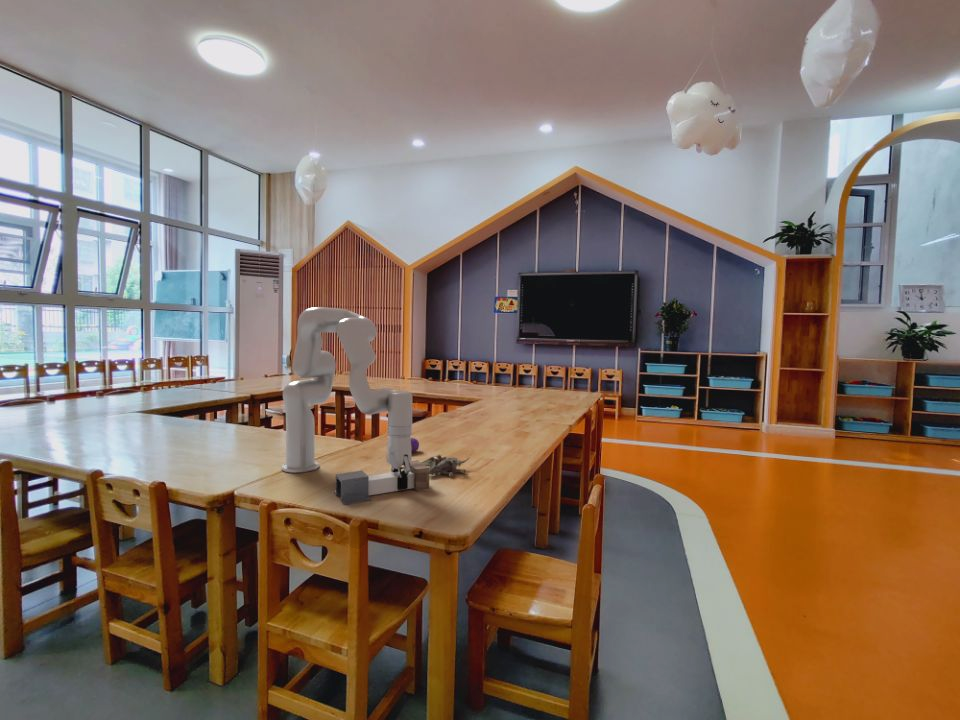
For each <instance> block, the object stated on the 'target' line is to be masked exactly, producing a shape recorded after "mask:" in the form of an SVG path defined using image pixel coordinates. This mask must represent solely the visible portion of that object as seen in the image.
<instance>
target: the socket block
mask: <svg viewBox="0 0 960 720" xmlns="http://www.w3.org/2000/svg"><path fill="white" fill-rule="evenodd" d="M421 462H422V461H420V460H411V466H410V470H412V471H413V472H414V488H413V489H414V490H413V491H415V492H421V491H424V490H425V491H426V490H429V489H430V474H429V468H430V467H428V466H426V465H424V464H423V463H421Z"/></svg>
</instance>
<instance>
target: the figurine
mask: <svg viewBox="0 0 960 720" xmlns="http://www.w3.org/2000/svg"><path fill="white" fill-rule="evenodd" d="M469 459H471V458H470V457H468V458H466V459H465V460H460V459H458V458H457V457H448V458H447V457H446V456H445V455H443V454H437V455H435V456H432V457H430V458H428V459H426V460H424V461H420V462H421V463H423V464H424V465H426V466H428V467H429V475H431V476H434V475H435V476H436V475H437V474H441V475H447V476H449V478H451V477H452V476H453V475H454V474H458V473H462V474H465V473H466V472H467V470H466V469H465V468H461V469H460V468H458V469H457V467H461V465H463V464H464V463H466V462H467V461H468V460H469Z"/></svg>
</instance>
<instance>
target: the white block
mask: <svg viewBox="0 0 960 720" xmlns="http://www.w3.org/2000/svg"><path fill="white" fill-rule="evenodd" d="M402 471H403V470H401V472H402ZM368 476H369V477H368V497H370V496H372V495H373V496H375V495H380V494H386V493H392V492H398V491H400V490H398V489H397V482H398V477H399V473H398V472H385V473H381V474H373V475H368ZM410 489H414V472H413V471H412V470H410V472H409V473H408V488H407V489H403V490H402V491H405V490H410Z"/></svg>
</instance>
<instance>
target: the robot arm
mask: <svg viewBox="0 0 960 720" xmlns="http://www.w3.org/2000/svg"><path fill="white" fill-rule="evenodd" d="M321 333H337V336H338V340H339V342H340V343H341V345H342V348H343V350H344V352H345V355H346V357H347V359H348V361H349V364H350V372H349V375H348V376H349V381H348V384H349V385H348V386H349V392H350V393H351V396H352V399H353V400H354V403H355V405H356V406H357V408H358V410H359V411H360V412H361V413H362V414H364V415H369V416H370V415H375V414H376V415H377V414H381V413H385V412H387V436H388V437H387V446H386V447H387V448H386V462H387V463H388V464H389V465H390V466H391V469H390V471H391V472H390V473H393V472H398V473H399V477H398V482H397V489H398V490H399V491H404V490H403V489H405V490H408V489H407V488H408V473H409V472H410V466H411V461H412V453H411V438H412V437H411V436H413V394H412V393H411V392H410V391H408V390H396V389H394V388H389V387H384V388H377V389H376V388H375V389H371V387H370V384H369V381H368V378H367V370H368V368H369V366H371V365H372V364H373V363H375V361H376V359H377V356H376V353H375V351H374V349H373V346H372V344H371V343H370V342H372V341H374V339H375V338H376V336H377V326H376V325H375V323H374V322H373V321H372V320H371V319H370V318H368V317H366V316H363V315H361V314H359V313H357V312H356V313H355V312H354V311H351V310H349V309H345V308H339V307H338V308H337V307H325V306H324V307H322V306H317V307H310V308H307V309H304V310H303V311H302V312H301V313H300V315H299V317H298V320H297V337H296V342H295V343H296V344H295V348H294V354H293V359H292V366H291V368H292V369H291V370H292V374H293V375H294V376H296V377H297V378H300V379H299V380H295V381H294V380H293V381H290V382H289V383H288V384H286V385H285V386H284V388H283V390H282V399H283V400H282V401H283V404H284V409H285V411H284V412H285V432H286V433H285V439H286V440H285V441H286V443H285V444H286V445H285V447H286V448H285V449H286V452H285V453H286V454H285V455H286V457H285V458H286V459H285V460H286V461H285V463H283V464H282V465H281V470H282V471H283V472H285V473H291V474H292V473H294V474H295V473H296V474H298V473H306V472H312V471H314V470H317V469H318V468H319V467H320V462H318V461H317V460H315V459H316V458H315V456H316V455H315V453H316V452H315V449H316V447H315V438H316V437H315V416H314V414H313V411H312V409H311V406H316V405H320V404H321V405H322V404H324V403H326V402H327V401H328V400H329V398H330V396H331V394H332V389H333V384H334V380H335V374H336V366H337V365H336V364H337V362H336V359H335V357H334V355H333V354H332V353H331V352H330V351H328V350H322V348H323V338H322V334H321ZM308 378H309V379H308ZM310 378H311V379H310ZM401 471H402V472H401Z"/></svg>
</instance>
